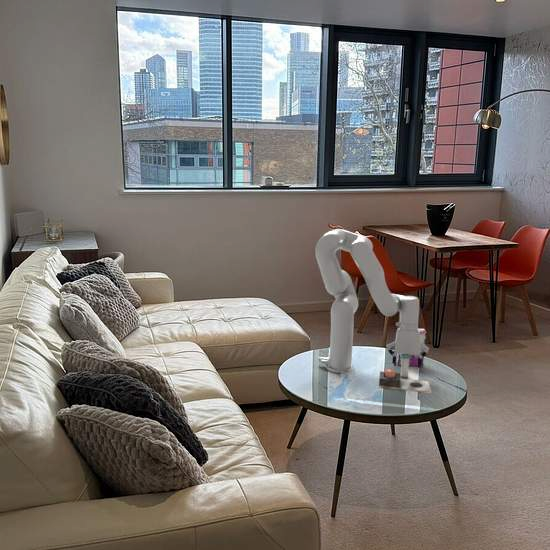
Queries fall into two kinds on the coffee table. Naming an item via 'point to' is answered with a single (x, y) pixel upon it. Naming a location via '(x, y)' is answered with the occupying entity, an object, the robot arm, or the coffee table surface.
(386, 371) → the button
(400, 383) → the drawing board
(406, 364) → the cylinder
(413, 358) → the candy bar box
